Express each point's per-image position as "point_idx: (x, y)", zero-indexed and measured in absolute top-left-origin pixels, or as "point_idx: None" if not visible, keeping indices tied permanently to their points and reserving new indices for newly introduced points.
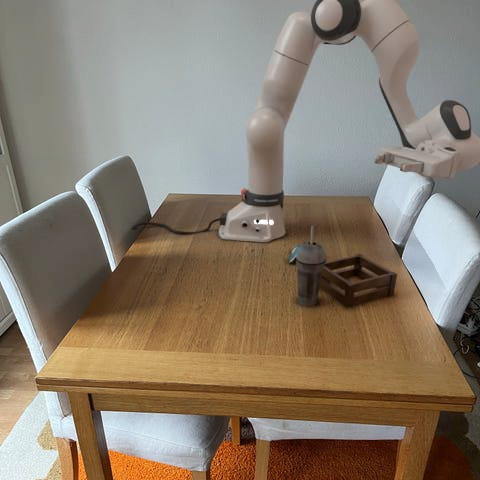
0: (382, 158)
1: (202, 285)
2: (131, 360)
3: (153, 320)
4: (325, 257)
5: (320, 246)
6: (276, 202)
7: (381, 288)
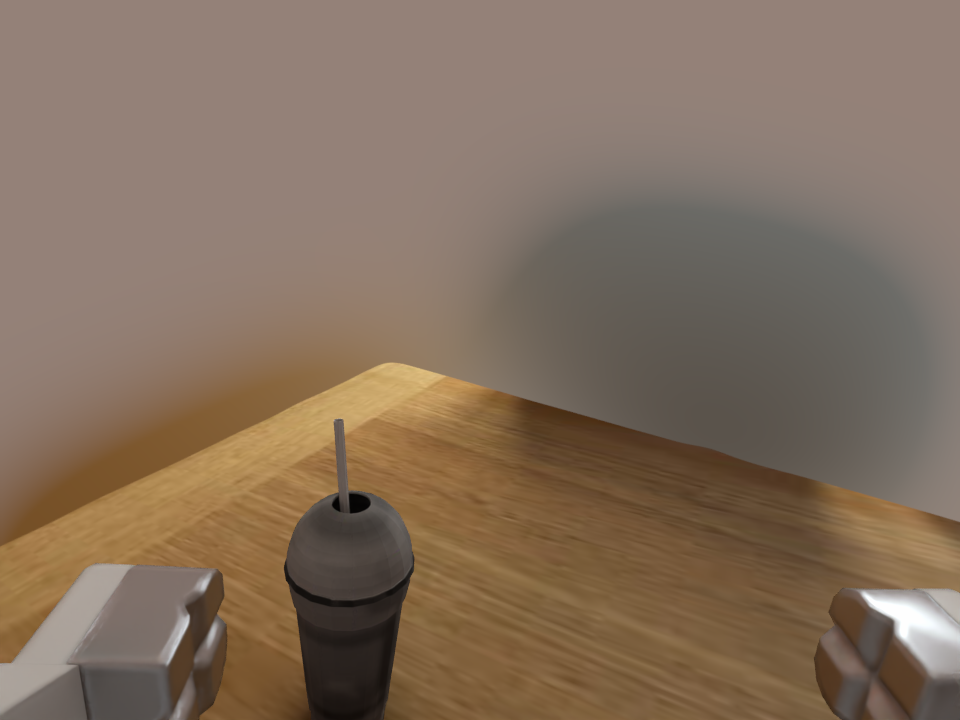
0: (901, 685)
1: (595, 535)
2: (356, 405)
3: (464, 443)
4: (296, 574)
5: (320, 524)
6: None
7: None
